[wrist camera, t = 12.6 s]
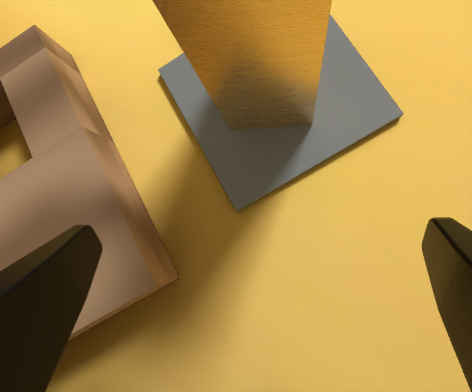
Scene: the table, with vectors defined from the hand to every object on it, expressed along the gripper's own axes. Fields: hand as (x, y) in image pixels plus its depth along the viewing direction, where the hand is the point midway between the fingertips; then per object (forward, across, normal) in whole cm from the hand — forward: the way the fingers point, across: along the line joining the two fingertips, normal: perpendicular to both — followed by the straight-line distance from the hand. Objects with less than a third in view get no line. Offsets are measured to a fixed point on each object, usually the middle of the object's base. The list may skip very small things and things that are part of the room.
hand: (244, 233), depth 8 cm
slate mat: (+12, 0, 0) cm, 12 cm away
